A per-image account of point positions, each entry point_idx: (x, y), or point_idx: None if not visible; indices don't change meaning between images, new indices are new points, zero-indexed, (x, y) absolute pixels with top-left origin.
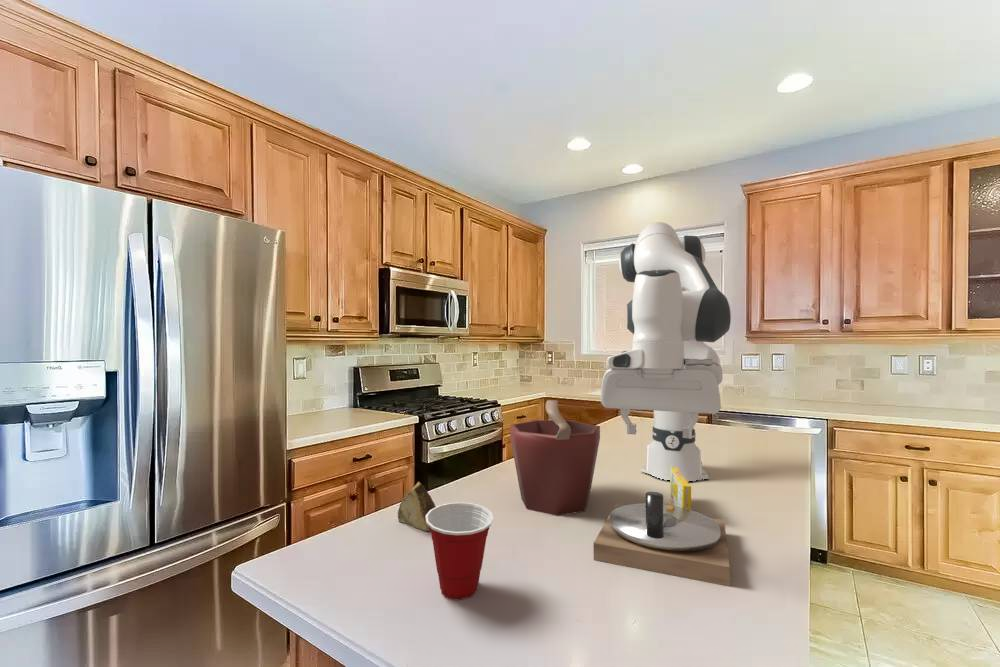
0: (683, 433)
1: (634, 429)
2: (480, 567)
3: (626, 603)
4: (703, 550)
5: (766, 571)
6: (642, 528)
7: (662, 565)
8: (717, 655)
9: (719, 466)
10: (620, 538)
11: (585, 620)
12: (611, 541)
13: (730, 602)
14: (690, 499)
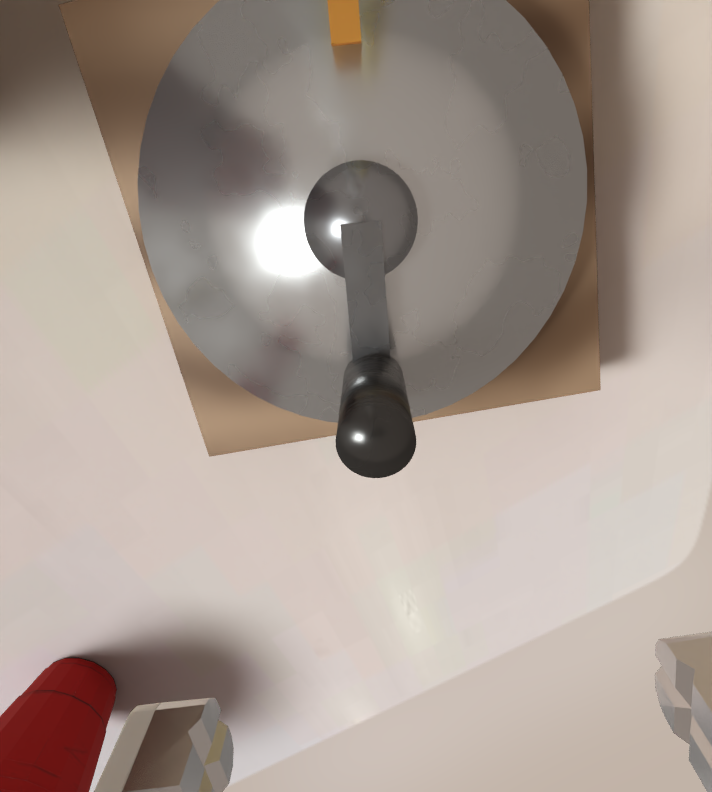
0: (689, 737)
1: (209, 779)
2: (97, 725)
3: (375, 566)
4: None
5: (687, 210)
6: (317, 344)
7: None
8: (558, 620)
9: None
10: None
11: (330, 646)
12: (248, 417)
13: (579, 447)
14: None
